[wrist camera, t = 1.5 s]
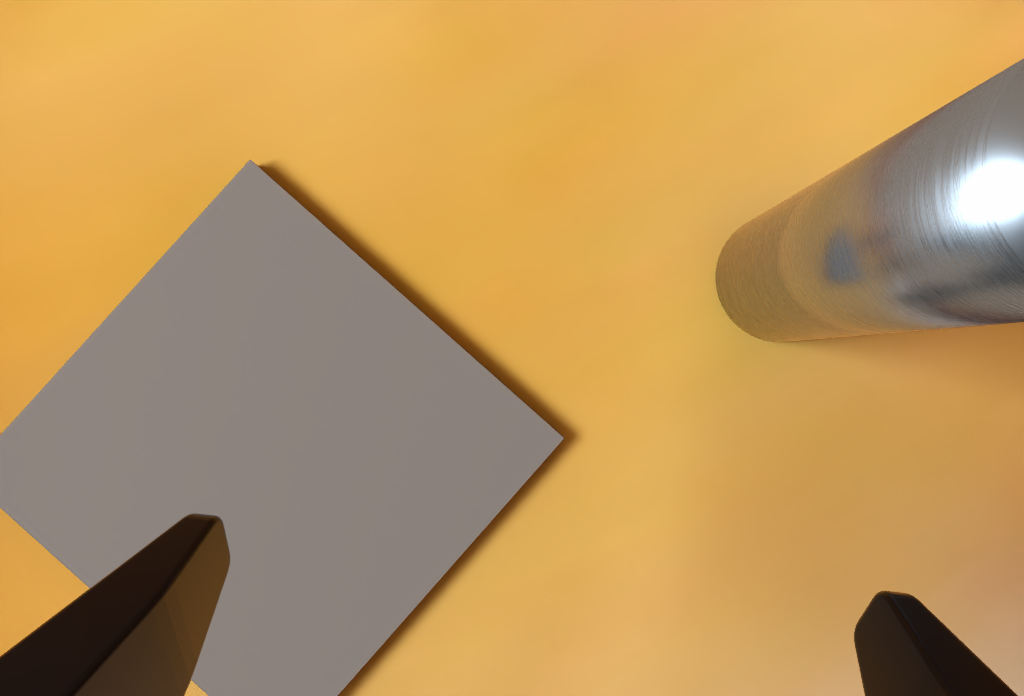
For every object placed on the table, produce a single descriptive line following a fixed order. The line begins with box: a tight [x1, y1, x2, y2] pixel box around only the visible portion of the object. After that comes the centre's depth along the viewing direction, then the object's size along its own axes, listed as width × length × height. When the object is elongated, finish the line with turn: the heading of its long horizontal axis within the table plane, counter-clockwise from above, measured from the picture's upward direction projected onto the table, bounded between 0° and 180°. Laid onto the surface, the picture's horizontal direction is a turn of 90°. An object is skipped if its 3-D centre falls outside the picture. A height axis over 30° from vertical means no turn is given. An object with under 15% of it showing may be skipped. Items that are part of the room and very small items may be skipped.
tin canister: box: [716, 59, 1024, 342], centre depth 17 cm, size 4×4×13 cm
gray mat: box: [0, 160, 564, 696], centre depth 22 cm, size 14×14×1 cm
